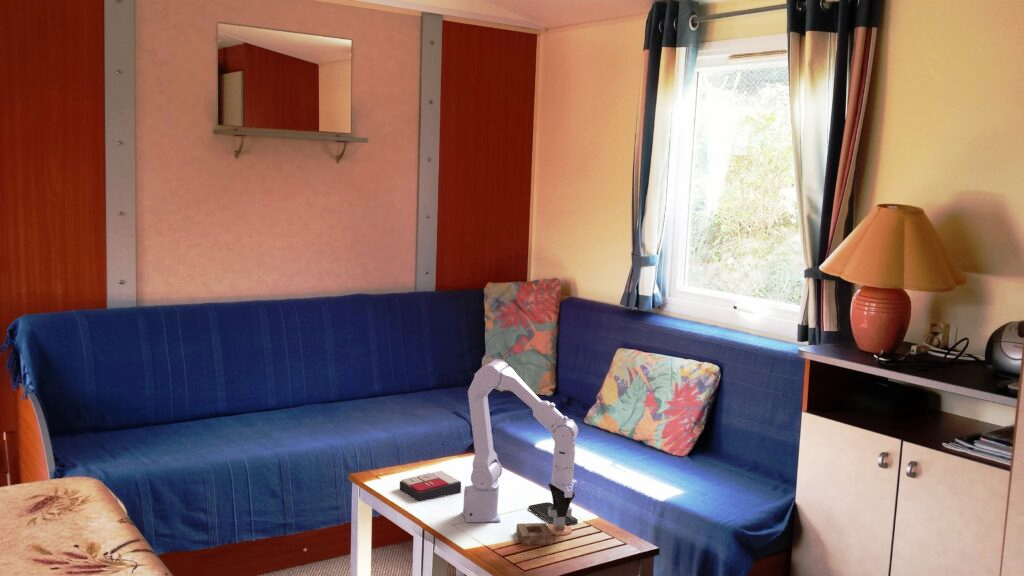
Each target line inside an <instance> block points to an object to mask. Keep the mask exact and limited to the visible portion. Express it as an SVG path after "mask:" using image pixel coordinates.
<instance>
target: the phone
mask: <svg viewBox="0 0 1024 576" xmlns="http://www.w3.org/2000/svg"><path fill="white" fill-rule="evenodd" d="M548 507H554V506H553V502H549V501H548V502H542V503H541V502H540V503H536V504H531V505H528V510H529V509H530V510H531V511H530V510H529V511H530V512H532V511H533V512H534V513H533V512H532V513H533V514H534V515H536V514H537V515H536V516H538V515H539V516H540V517H539V516H538V517H539V518H541V517H542V518H543V519H542V518H541V519H542V520H544V519H545V520H546V521H545V520H544V521H545V522H547V521H548V522H549V524H553V520H554V517H549V514H548ZM578 521H579V519H577V518H576V517H574V516H573V515H571V516H565V525H568V526H572V525H573V524H574V525H577V524H578V523H579V522H578ZM548 522H547V523H548Z"/></svg>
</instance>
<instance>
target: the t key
mask: <svg viewBox="0 0 1024 576" xmlns="http://www.w3.org/2000/svg"><path fill="white" fill-rule="evenodd" d="M572 511H573V510H572V507H571V505H569V508H568V511H567V514H566V516H572V514H573V513H572ZM548 514H549V517H554V520H553V527H554V529H555V531H561V530H565V517H558V514H557V506H555V507H548Z"/></svg>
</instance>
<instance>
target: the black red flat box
mask: <svg viewBox="0 0 1024 576" xmlns="http://www.w3.org/2000/svg"><path fill="white" fill-rule="evenodd" d="M399 491H401V492H403V493H404V494H406V495H408V496H409V497H410V498H411V499H414V500H415V501H417V502H423V501H428V500H434V499H437V498H441V497H444V496H445V497H446V496H452V495H456V494H461V493H462V481H460V480H459V479H457V478H455V477H454V476H452V475H449V473H446V472H444V471H442V470H438V471H434V472H427V473H424V474H420V475H417V476H411V477H408V478H403V479H401V480H400V481H399Z"/></svg>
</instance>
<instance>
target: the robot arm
mask: <svg viewBox="0 0 1024 576" xmlns="http://www.w3.org/2000/svg"><path fill="white" fill-rule="evenodd" d="M498 385H499V386H498ZM497 386H498V388H497V389H498V390H504V391H511V392H512V393H513V394H514V395H516V396H517V397H518V398H519V399H520V400H521V401H522V402H524V404H526V405H527V406H528V407H529V408H531V410H532V416H533V418H535V420H537V421H538V422H539V423H540V424H541V425H542V426H543V427H544V428H545V429H546V430H547V431H548V432H549V433H550V434H552V439H553V441H554V448H553V457H552V470H551V471H552V472H551V480H550V483H549V484H548V487H549V490H550V493H551V497H552V504H553V506H554V507H555V506H557V514H558V517H565V516H566V514H567V511H568V508H569V506H571V505H570V504H571V503H572V501H573V499H574V498H575V495H576V493H575V492H574V490H573V487H574V485H577V484H578V480H576V479H575V478H574V471H575V469H574V468H575V456H576V437H577V436H578V434H579V426H578V424H577V423H576V422H575V420H574V419H570V418H569V417H568V416H567V415H563V414H562V413H561V412H560V411H559V410H558V409H557V408H556V404H555V403H554V402H550V401H549V400H542V399H541V398H540V397H539V396H537V394H536V393H535V392H534V391H533V390H532V389H531V388H530V387H529V386H528V384H526V383H525V382H524V381H523V379H522V378H521V377H520V376H519V375H518V373H516V371H515V370H514V369H513V368H512V367H511V366H508V363H507V362H505V361H504V360H503V359H499V358H498V359H493V360H491V361H490V362H489V363H487V364H486V365H483V366H482V367H480V368H479V369H478V370H477V372H475V373H474V378H473V380H472V381H471V384H470V386H469V388H468V390H467V397H468V404H469V410H470V411H469V414H470V420H471V421H470V422H471V429H472V439H473V440H472V441H473V447H474V458H473V461H472V470H471V471H472V472H471V475H470V481H471V485H468V486H467V485H466V486H465V487H464V492H463V508H462V513H463V515H464V519H465V521H466V523H491V522H493V523H494V522H495V523H498V522H501V518H500V516H499V513H498V504H499V490H500V484H499V481H498V480H499V478H500V477H501V475H502V473H503V468H502V464H501V463H500V461H499V459H498V453H497V452H496V451H495V450H494V441H493V433H492V425H491V416H490V408H489V407H490V406H489V399H488V395H489V394H490V393H491V391H493V389H494V388H496V387H497Z"/></svg>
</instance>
